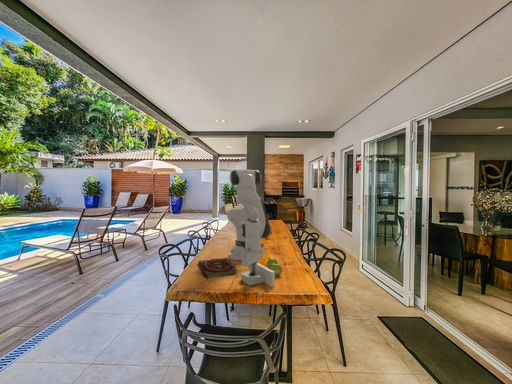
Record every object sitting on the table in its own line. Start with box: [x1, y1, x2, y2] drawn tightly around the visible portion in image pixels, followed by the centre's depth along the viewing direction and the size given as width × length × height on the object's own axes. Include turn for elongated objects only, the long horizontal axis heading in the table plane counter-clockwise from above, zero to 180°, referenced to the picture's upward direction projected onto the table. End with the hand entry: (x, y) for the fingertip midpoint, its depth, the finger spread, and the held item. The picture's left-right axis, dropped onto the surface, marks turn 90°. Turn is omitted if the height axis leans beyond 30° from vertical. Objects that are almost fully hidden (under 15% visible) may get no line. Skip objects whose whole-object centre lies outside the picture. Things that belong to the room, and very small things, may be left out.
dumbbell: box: [266, 257, 283, 277], centre depth 164 cm, size 16×8×7 cm, turn 6°
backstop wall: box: [255, 262, 276, 287], centre depth 150 cm, size 24×2×8 cm, turn 31°
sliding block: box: [240, 270, 265, 286], centre depth 147 cm, size 10×10×4 cm
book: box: [198, 257, 238, 279], centre depth 170 cm, size 28×21×5 cm
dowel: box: [249, 263, 255, 276], centre depth 147 cm, size 3×3×7 cm
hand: (252, 269), depth 147 cm, fingers closed on dowel, 3 cm apart
